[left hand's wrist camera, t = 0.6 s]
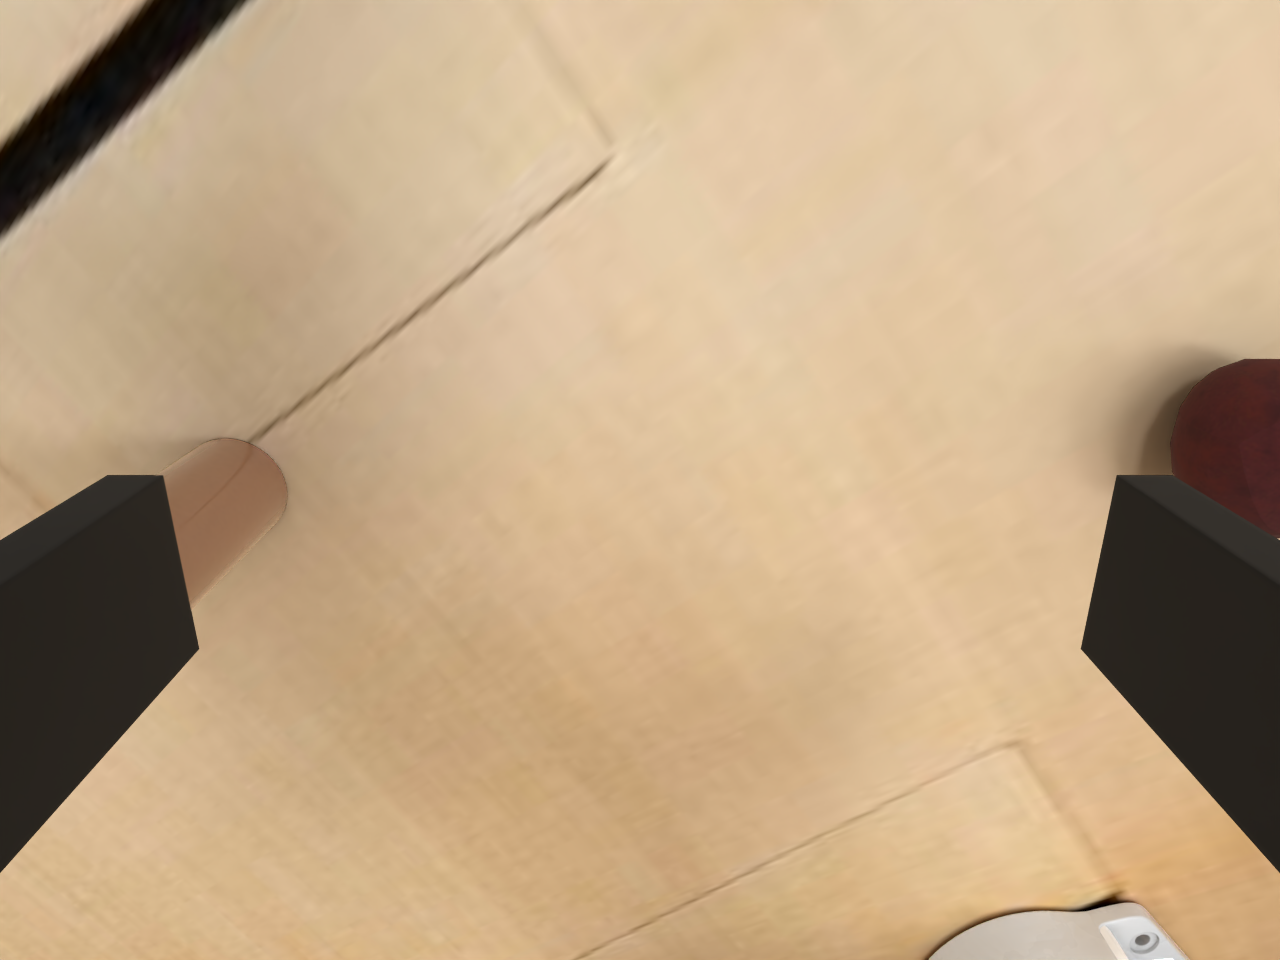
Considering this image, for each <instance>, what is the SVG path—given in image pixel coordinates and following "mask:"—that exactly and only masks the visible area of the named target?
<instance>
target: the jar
mask: <svg viewBox="0 0 1280 960" xmlns="http://www.w3.org/2000/svg"><path fill="white" fill-rule="evenodd" d="M156 475H163V477H164V481H165V486H166V491H167V496H168V501H169V506H170V510H171V515H172V520H173V525H174V530H175V535H176V539H177V544H178V549H179V554H180V559H181V564H182V568H183V573H184V578H185V583H186V588H187V593H188V597H189V602H190V607H191V610H192V609H193V608H194V607H195V606H196V605H197V604H198V603H199V602H200V600H201V599H202V598H203V597H204V596H205V595H206V594H207V593H208V592H209V591H210V590H211V589H212V588H213V587H214V586H215V585H216V584H217V583H218V582H219V581H220V580H221V579H222V578H223V577H224V576H225V575H226V574H227V573H228V572H229V571H230V570H231V569H232V568H233V567H234V566H235V565H236V564H237V563H238V562H239V561H240V560H241V559H242V558H243V557H244V556H245V555H246V554H247V553H248V552H249V551H250V550H251V549H252V547H253V546H254V545H255V544H256V543H257V542H258V541H259V540H260V539H261V538H262V537H263V536H264V535H265V534H266V533H267V532H268V531H269V530H270V529H271V528H272V527H273V526H274V525H275V524H276V523H277V522H278V521H279V519H280V518H281V516H282V515H283V512H284V510H285V507H286V503H287V488H286V483H285V480H284V477H283V475H282V473H281V471H280V469H279V468H278V466H277V465H276V463H275V462H274V461H273V460H272V459H271V458H270V457H269V456H268V455H267V454H266V453H265V452H263V451H262V450H261V449H259V448H257V447H256V446H254V445H251V444H249V443H247V442H244V441H240V440H236V439H215V440H211V441H208V442H205V443H203V444H201V445H200V446H198V447H197V448H195V449H194V450H192V451H191V452H189V453H188V454H186V455H185V456H183V457H182V458H180V459H179V460H177V461H176V462H174V463H173V464H171V465H169V466H168V467H166V468H165V469H163V470H162V471H160V472H159V473H157V474H156Z"/></svg>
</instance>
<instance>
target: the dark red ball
mask: <svg viewBox="0 0 1280 960" xmlns="http://www.w3.org/2000/svg"><path fill="white" fill-rule="evenodd" d="M1170 447H1171V461H1172V472H1173V474H1174V476H1175V477H1176V478H1178V479H1179V480H1181V481H1183V482H1184V483H1186V484H1188V485H1189V486H1191V487H1193V488H1194V489H1196V490H1198V491H1199V492H1201V493H1203V494H1204V495H1206V496H1208V497H1209V498H1211V499H1212V500H1214V501H1216V502H1217V503H1219V504H1221V505H1222V506H1224V507H1226V508H1227V509H1229V510H1231V511H1232V512H1234V513H1236V514H1237V515H1239V516H1241V517H1242V518H1244V519H1245V520H1247V521H1249V522H1250V523H1252V524H1254V525H1255V526H1257V527H1259V528H1260V529H1262V530H1264V531H1265V532H1267V533H1269V534H1270V535H1272V536H1274V537H1275V538H1280V359H1243V360H1241V361H1238V362H1235V363H1232V364H1229V365H1227V366H1224V367H1221V368H1218V369H1216V370H1214V371H1213V372H1211V373H1210V374H1209V375H1207V376H1206V377H1205V378H1204V379H1203V380H1201V381H1200V382H1199V383H1198V384H1196V385H1195V386H1194V387H1193V388H1192V390H1191V391H1190V393H1189V394H1188V396H1187V397H1186V399H1185V400H1184V402H1183V403H1182V405H1181V406H1180V409H1179V413H1178V416H1177V420H1176V423H1175V427H1174V430H1173V434H1172V438H1171V442H1170Z"/></svg>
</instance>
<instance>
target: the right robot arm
mask: <svg viewBox="0 0 1280 960" xmlns="http://www.w3.org/2000/svg"><path fill="white" fill-rule="evenodd" d="M928 960H1190V959H1189V958H1188V957H1187V956H1186V954H1185V953H1184V952H1183V951H1182V950H1181V949H1180V948H1179V946H1178V945H1177V944H1176V943H1175V942H1174V941H1173V940H1172V938H1171V937H1170V936H1169V935H1168V934H1167V933H1166V932H1165V930H1164V929H1163V928H1162V927H1161V926H1160V925H1159V924H1158V922H1157V921H1156V920H1155V919H1154V918H1153V917H1152V915H1151V914H1150V913H1149V912H1148V911H1147V910H1146V909H1145V908H1144V907H1143V906H1141V905H1140V904H1137V903H1119V904H1114V905H1109V906H1105V907H1101V908H1097V909H1093V910H1090V911H1084V912H1064V911H1031V912H1022V913H1016V914H1011V915H1006V916H1002V917H999V918H995V919H992V920H989V921H986V922H984V923H981V924H979V925H976V926H974V927H972V928H970V929H968V930H966V931H964V932H962V933H961V934H959V935H957V936H956V937H954V938H953V939H951V940H950V941H948V942H947V943H946V944H944V945H943V946H942V947H941V948H940V949H938V950H937V951H936V952H935V953H934V954H933V955H932V956H931V957H930V958H929V959H928Z"/></svg>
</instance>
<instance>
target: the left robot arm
mask: <svg viewBox="0 0 1280 960" xmlns="http://www.w3.org/2000/svg"><path fill="white" fill-rule="evenodd" d="M198 650H199V646H198V641H197V636H196V631H195V626H194V622H193V617H192V612H191V607H190V602H189V597H188V593H187V588H186V583H185V578H184V573H183V568H182V564H181V559H180V554H179V549H178V544H177V539H176V535H175V530H174V525H173V520H172V515H171V510H170V506H169V501H168V496H167V491H166V486H165V481H164V477H163V475H107V476H105V477H104V478H102V479H100V480H99V481H97V482H96V483H94V484H92V485H91V486H89V487H87V488H86V489H84V490H82V491H81V492H79V493H77V494H76V495H74V496H72V497H71V498H69V499H68V500H66V501H64V502H63V503H61V504H59V505H58V506H56V507H54V508H53V509H51V510H49V511H48V512H46V513H44V514H43V515H41V516H39V517H38V518H36V519H35V520H33V521H31V522H30V523H28V524H26V525H25V526H23V527H21V528H20V529H18V530H16V531H15V532H13V533H11V534H10V535H8V536H6V537H5V538H3V539H2V540H0V873H1V871H2V870H3V869H4V868H5V867H6V866H7V865H8V864H9V862H10V861H11V860H12V859H13V858H14V857H15V856H16V855H17V853H18V852H19V851H20V850H21V849H22V848H23V847H24V845H25V844H26V843H27V842H28V841H29V840H30V839H31V838H32V836H33V835H34V834H35V833H36V832H37V831H38V830H39V829H40V827H41V826H42V825H43V824H44V823H45V822H46V821H47V820H48V818H49V817H50V816H51V815H52V814H53V813H54V812H55V811H56V809H57V808H58V807H59V806H60V805H61V804H62V803H63V802H64V800H65V799H66V798H67V797H68V796H69V795H70V794H71V793H72V791H73V790H74V789H75V788H76V787H77V786H78V785H79V784H80V782H81V781H82V780H83V779H84V778H85V777H86V776H87V775H88V773H89V772H90V771H91V770H92V769H93V768H94V767H95V766H96V764H97V763H98V762H99V761H100V760H101V759H102V758H103V757H104V755H105V754H106V753H107V752H108V751H109V750H110V749H111V748H112V746H113V745H114V744H115V743H116V742H117V741H118V740H119V739H120V737H121V736H122V735H123V734H124V733H125V732H126V731H127V730H128V728H129V727H130V726H131V725H132V724H133V723H134V722H135V721H136V719H137V718H138V717H139V716H140V715H141V714H142V713H143V712H144V710H145V709H146V708H147V707H148V706H149V705H150V704H151V703H152V701H153V700H154V699H155V698H156V697H157V696H158V695H159V693H160V692H161V691H162V690H163V689H164V688H165V687H166V686H167V684H168V683H169V682H170V681H171V680H172V679H173V678H174V677H175V675H176V674H177V673H178V672H179V671H180V670H181V669H182V668H183V666H184V665H185V664H186V663H187V662H188V661H189V660H190V659H191V657H192V656H193V655H194V654H195V653H196V652H197V651H198ZM1081 650H1082V651H1083V652H1084V653H1085V654H1086V655H1087V656H1088V657H1089V659H1090V660H1091V661H1092V662H1093V663H1094V664H1095V665H1096V666H1097V668H1098V669H1099V670H1100V671H1101V672H1102V673H1103V674H1104V675H1105V677H1106V678H1107V679H1108V680H1109V681H1110V682H1111V683H1112V684H1113V686H1114V687H1115V688H1116V689H1117V690H1118V691H1119V692H1120V693H1121V695H1122V696H1123V697H1124V698H1125V699H1126V700H1127V701H1128V703H1129V704H1130V705H1131V706H1132V707H1133V708H1134V709H1135V710H1136V712H1137V713H1138V714H1139V715H1140V716H1141V717H1142V718H1143V719H1144V721H1145V722H1146V723H1147V724H1148V725H1149V726H1150V727H1151V728H1152V730H1153V731H1154V732H1155V733H1156V734H1157V735H1158V736H1159V737H1160V739H1161V740H1162V741H1163V742H1164V743H1165V744H1166V745H1167V746H1168V748H1169V749H1170V750H1171V751H1172V752H1173V753H1174V754H1175V755H1176V757H1177V758H1178V759H1179V760H1180V761H1181V762H1182V763H1183V764H1184V766H1185V767H1186V768H1187V769H1188V770H1189V771H1190V772H1191V773H1192V775H1193V776H1194V777H1195V778H1196V779H1197V780H1198V781H1199V782H1200V784H1201V785H1202V786H1203V787H1204V788H1205V789H1206V790H1207V791H1208V793H1209V794H1210V795H1211V796H1212V797H1213V798H1214V799H1215V800H1216V802H1217V803H1218V804H1219V805H1220V806H1221V807H1222V808H1223V809H1224V811H1225V812H1226V813H1227V814H1228V815H1229V816H1230V817H1231V818H1232V820H1233V821H1234V822H1235V823H1236V824H1237V825H1238V826H1239V827H1240V829H1241V830H1242V831H1243V832H1244V833H1245V834H1246V835H1247V836H1248V838H1249V839H1250V840H1251V841H1252V842H1253V843H1254V844H1255V845H1256V847H1257V848H1258V849H1259V850H1260V851H1261V852H1262V853H1263V855H1264V856H1265V857H1266V858H1267V859H1268V860H1269V861H1270V862H1271V864H1272V865H1273V866H1274V867H1275V868H1276V869H1277V870H1278V871H1279V873H1280V540H1278V539H1277V538H1275V537H1274V536H1272V535H1270V534H1269V533H1267V532H1265V531H1264V530H1262V529H1260V528H1259V527H1257V526H1255V525H1254V524H1252V523H1250V522H1249V521H1247V520H1245V519H1244V518H1242V517H1241V516H1239V515H1237V514H1236V513H1234V512H1232V511H1231V510H1229V509H1227V508H1226V507H1224V506H1222V505H1221V504H1219V503H1217V502H1216V501H1214V500H1212V499H1211V498H1209V497H1208V496H1206V495H1204V494H1203V493H1201V492H1199V491H1198V490H1196V489H1194V488H1193V487H1191V486H1189V485H1188V484H1186V483H1184V482H1183V481H1181V480H1179V479H1178V478H1176V477H1175V476H1173V475H1117V477H1116V481H1115V486H1114V491H1113V496H1112V501H1111V506H1110V510H1109V515H1108V520H1107V525H1106V530H1105V535H1104V539H1103V544H1102V549H1101V554H1100V559H1099V564H1098V568H1097V573H1096V578H1095V583H1094V588H1093V593H1092V597H1091V602H1090V607H1089V612H1088V617H1087V621H1086V626H1085V631H1084V636H1083V641H1082V646H1081Z"/></svg>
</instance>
